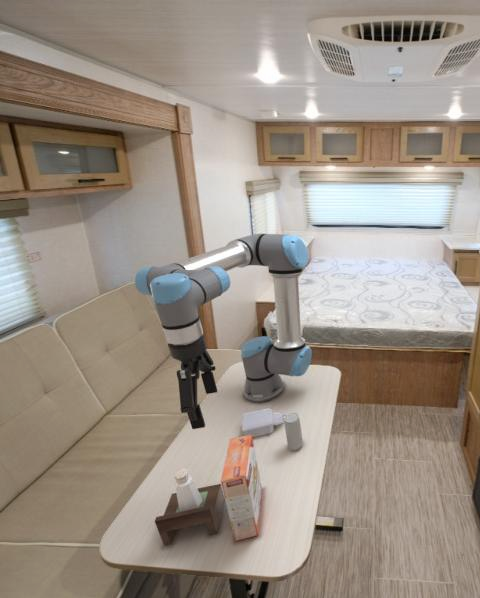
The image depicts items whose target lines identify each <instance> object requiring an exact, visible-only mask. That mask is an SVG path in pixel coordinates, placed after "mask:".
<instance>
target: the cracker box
mask: <svg viewBox="0 0 480 598" xmlns="http://www.w3.org/2000/svg"><path fill="white" fill-rule="evenodd" d="M220 484H221V486H222V490H223V494H224V498H225V501H224V502H225V504H226V509H227V512H228V518H229V521H230V526H231V529H232V533H233V537H234V541H235V542H238V541H241V540H246V539H249V538H253V537H257V536H259V532H260V531H259V529H260V518H261V510H262V509H261V506H262V497H263V486H262V480H261V476H260V470H259V464H258V459H257V454H256V448H255V442H254V437H253V436H252V435H247V436H243V435H241V436H237V437H232V438H230V439H229V442H228V446H227V451H226V455H225V460H224V465H223V470H222V474H221V478H220Z"/></svg>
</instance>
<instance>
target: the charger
mask: <svg viewBox="0 0 480 598" xmlns="http://www.w3.org/2000/svg"><path fill="white" fill-rule="evenodd" d="M287 414H288V413H286V414H283V412H276V413H274V411H273V409H272V408H270V407H268V408H263V409H258V410H253V411H248V412H244V413H242V423H241V434H242V436H247V435H252V436H253V438H255V437H260V436H265V435H268V434H272V432H273V431H275V430H274V429H275V427H274V426H278V425H281V424H283V423H284V418H285V416H286V415H287Z"/></svg>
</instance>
